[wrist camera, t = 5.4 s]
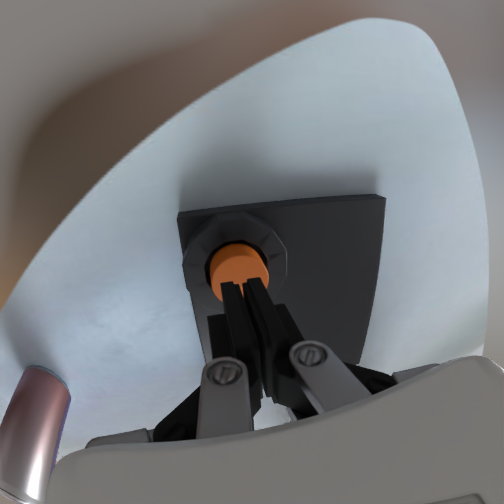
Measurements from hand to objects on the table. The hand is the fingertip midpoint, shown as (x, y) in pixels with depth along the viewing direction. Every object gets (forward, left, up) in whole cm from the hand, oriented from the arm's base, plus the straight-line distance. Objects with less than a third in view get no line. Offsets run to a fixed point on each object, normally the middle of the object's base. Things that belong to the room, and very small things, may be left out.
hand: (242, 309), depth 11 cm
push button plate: (+5, +4, -7) cm, 10 cm away
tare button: (0, 0, -5) cm, 5 cm away
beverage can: (+12, -21, -7) cm, 25 cm away
